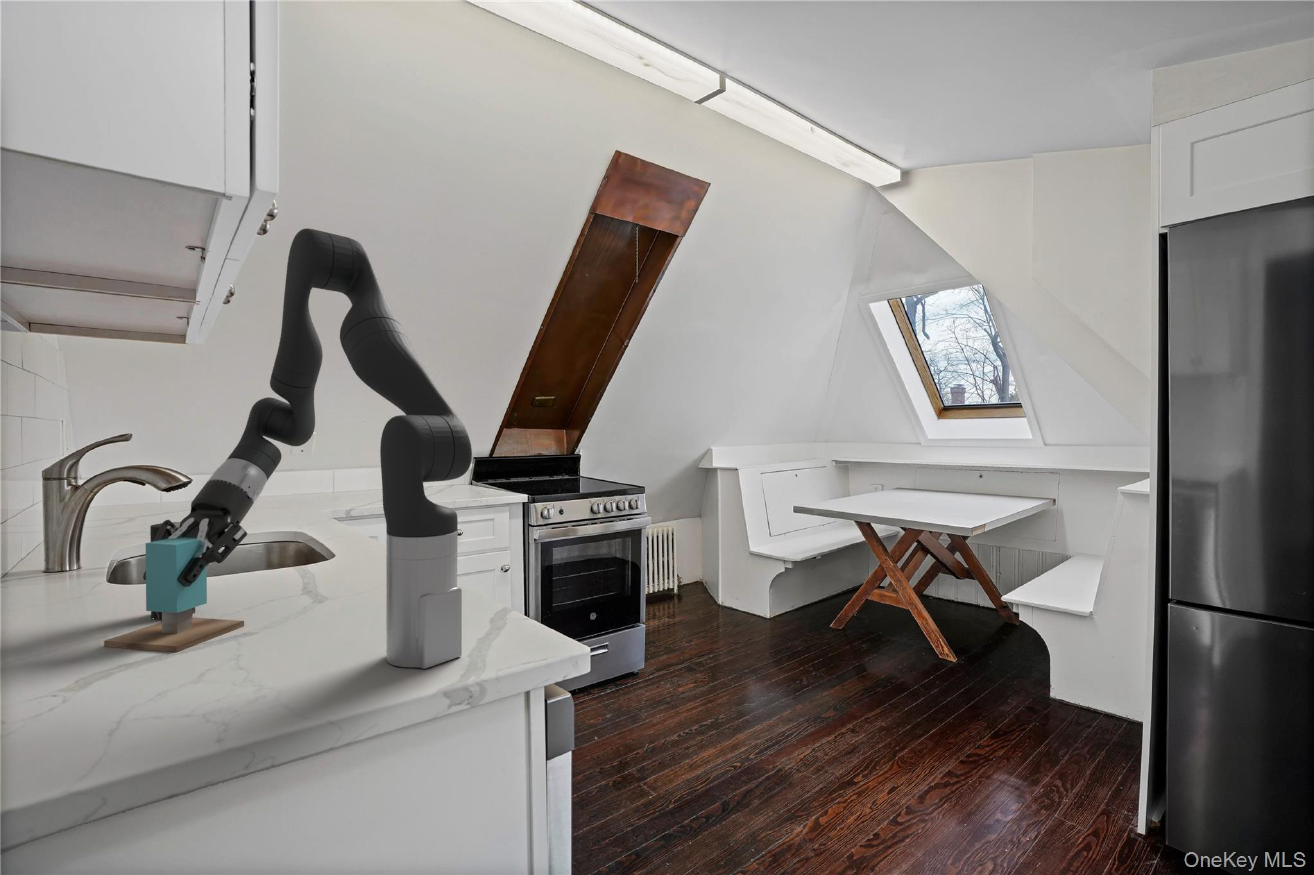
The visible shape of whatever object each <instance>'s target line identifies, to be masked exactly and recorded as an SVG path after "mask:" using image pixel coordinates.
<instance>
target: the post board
mask: <svg viewBox="0 0 1314 875" xmlns="http://www.w3.org/2000/svg"><path fill="white" fill-rule="evenodd" d="M244 626H245V620H237V619H234V620H233V619H222V618H207V617H205V618H203V617H193V614H192V608H191V609H188V610H185V611H182V612H179V613H168V612H162V620H161V622H157V623H154V624H151V625H148V626H145V627H142V628H139V629H136V630H133V631H130V632H127V633H122V634H120V635H118V636H115V637H111V638H108V639H106V640H103V647H105V648H106V647H107V648H108V647H109V648H121V649H132V650H147V651H148V650H149V651H159V652H175V653H177V652H180V651H183V650H186V649H188V648H190V647H193V646H196V645H199V644H201V643H204V642H206V641H208V640H209V641H210V640H211V639H214V638H216V637H219V636H222V635H224V634H228V633H230V632H231V631H234V630H238V629H241V628H242V627H244Z"/></svg>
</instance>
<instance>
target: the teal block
mask: <svg viewBox="0 0 1314 875" xmlns="http://www.w3.org/2000/svg"><path fill="white" fill-rule="evenodd" d="M199 542H200V540H198V539H197V538H185V537H181V538H169V539H164V540H159V541H154V542H150V541H149V542H145V571H146V581H145V608H146V609H145V610H146V612H151V611H154V612H168V613H179V612H182V611H185V610H188V609H191V608H194V607H195V608H197V607H199V606H204V605H206V604H208V581H207V580H208V579H207V578H208V575H207V568H208V566H206V567H205V568H204V569H203V571H202V572H201V574H200V575H199V577H198V578H197V580H196V581H195V582H194V583H192V585H191V586H189V587H185V586H183V585H182V584H180V583H179V582H178V581H177V578H178V576H179V575H180V574H181V572H182V571H183V569H184V568H185V567H186V565H187V564H188V562H189V561H190V560H191V558H195V557H194V554H195V552H196V550H197V549H198V547H199V546H200V544H199ZM206 551H207V550H206ZM206 551H205V552H206Z"/></svg>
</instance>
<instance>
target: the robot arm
mask: <svg viewBox="0 0 1314 875" xmlns="http://www.w3.org/2000/svg"><path fill="white" fill-rule="evenodd" d="M289 248H290V249H289V252H288V257H287V258H288V259H287V264H286V277H285V284H284V286H285V287H284V294H283V304H282V305H283V307H282V319H281V331H280V338H279V344H278V349H277V352H276V355H275V359H274V364H273V367H272V371H271V374H270V379H269V387H270V389H271V390H272V391H273V392H274V393H275V394H276V395H277V396H279V397H281V398H282V399H283V400H285V401H286V402H285V401H283V400H280V399H278V398H276V397H264V398H262V399H261V398H260V399H259V400H257V401H256V402H255V403H253V405H252V407H251V409H250V411H249V413H248V418H247V421H246V425H245V428H244V431H243V433H242V434H241V438H240V440H239V441H238V443H237V444H236V446H235V447H234V449H233V450H232V452H231V453H230V454H229V456H228V457H227V458H226V459H225V461H224V462H223V463H222V464H220V466H218V467H217V469H216V470H214V472H213V474H211V475H210V478H208V479H207V481H206V483H205V484H204V485H203V486H202V488H201V489H200V490H199V492H198V493H197V495H196V496H195V497H194V498H193V500H192V501H191V504H190V512H189V513H188V515H186V516H185V517H184V518H182V520H181V521H175V522H176V523H172V521H171V520H170V519H165V520H164V521H163V522H162V525H161V527H160V528H159V530H158V532H157V534H156V536H155V538H154V540H153V541H152V542H154V541H159V540H164V539H169V538H181V537H185V538H197V539H198V540H200V542H199V544H200V546H199V547H198V549H197V550H196V552H195V554H194V557H195V558H191V560H190V561H189V562H188V564H187V565H186V567H185V568H184V569H183V571H182V572H181V574H180V575H179V576H178V578H177V581H178V582H179V583H180V584H182V585H183V586H185V587H189V586H191V585H192V583H194V582H195V581H196V580H197V578H198V577H199V575H200V574H201V572H202V571H203V569H204V568H205V567H206V566H207V567H208V566H210V565H211V564H212V563H217V564H222V563H223V562H224V561H225V560H226V559H227V558H228V557H229V556H230V554H232V552H234V550H235V549H236V548H237V547H238V545H240V544H241V543H242V542H243V540H244V539H245V538H246V537H247V535H248V532H247V531H246V529H245V528H244V527H243V526H242V525H240V524H241V523H242V521H243V520H244V519H245V517H246V516H247V514H248V512H249V511H250V510H251V508H253V507H252V506H254V504H255V503H256V501H257V500H258V498H259V496H261V493H262V491H263V490H264V488H265V485H266V484H267V482H268V481H269V479H270V478H271V477H272V475H273V474H274V472H275V470H276V469H277V467H278V466H279V464H280V463H281V460H282V452H281V450H280V449H279V447H278V446H277V445H276V444H274V443H273V442H272V441H270V440H268V439H271V440H273V441H277V442H280V443H281V444H285V445H287V446H291V447H300V446H301V447H302V446H303V445H305V444H306V443H308V442H309V440H311V438H312V436H313V435H314V432H315V428H316V412H315V390H316V389H315V388H316V386H317V381H318V379H319V375H320V371H321V367H322V363H323V357H324V356H323V347H322V342H321V340H320V337H319V335H318V332H317V330H316V328H315V325H314V323H313V319H312V317H311V313H310V308H309V306H310V305H309V301H310V295H311V292H312V289H319V290H323V291H324V290H325V291H330V292H337V293H340V294H344V295H345V296H346V297H347V298H348V300H349V301H350V304H351V306H350V309H348V312H347V313H346V315H345V316H344V318H343V320H342V323H341V326H340V329H339V340H340V345H341V348H342V350H343V352H344V355H345V356H346V358H347V360H348V363H349V365H350V366H351V368H352V370H353V372H354V373H355V375H356V376H357V377H358V379H359V380H360V381H361V382H363V384H365V385H366V386H367V387H369V388H370V389H371V390H373V391H374V392H375V393H377V394H378V395H380V397H382V398H384V399H385V400H387V401H388V402H390V403H391V404H393V405H394V406H395V407H396V408H398V409H399V410H401V412H402V413H404V414H402V415H395V416H393V417H391V418H389V420H388V421H387V422H386V424H385V425H384V427H383V430H382V432H381V437H380V450H379V452H380V453H379V454H380V472H381V473H380V474H381V487H382V489H381V490H382V509H383V515H384V518H385V523H386V525H385V526H386V528H385V530H386V539H385V540H386V543H385V544H386V559H385V560H386V563H385V564H386V567H385V568H386V569H385V570H386V574H385V575H386V577H385V578H386V579H385V580H386V581H385V582H386V583H385V585H386V587H385V589H386V590H385V592H386V595H385V596H386V598H385V599H386V603H385V604H386V609H385V610H386V621H385V623H386V626H385V627H386V630H385V631H386V661H387V663H388V664H390V665H392V666H396V667H400V668H401V667H403V668H420V669H423V670H424V669H429V668H430V667H434V666H437V665H440V664H442V663H445V662H448V661H450V660H453V659H456V658H458V657H462V655H463V653H462V650H463V649H462V647H463V646H462V641H463V636H462V635H463V634H462V632H463V631H462V630H463V629H462V628H463V627H462V626H463V623H462V621H463V620H462V618H463V614H462V612H463V610H462V608H463V590H462V588H461V587H459V586H458V533H459V532H458V530H459V529H458V528H459V527H458V524H459V523H458V522H459V520H458V519H459V518H458V513H457V512H456V510H454V509H453V508H451V507H447V506H444V505H440V504H437V503H434V502H433V501H431V500H430V499H428V497H427V496H426V493H425V487H424V483H435V482H445V481H446V482H447V481H451V480H455V479H459V478H461V477H463V476H464V475H465V474H466V473H467V472H469V468H470V466H471V465H472V459H473V451H472V450H473V449H472V444H471V440H470V436H469V434H468V432H467V429H466V427H465V425H464V423H463V422H462V420H461V419H460V418H459V416H458V414H457V413H456V412H455V410H454V409H453V408H452V406H451V405H450V404H449V402H448V400H447V399H446V398H445V396H443V394H442V393H441V392H440V390H439V388H438V387H437V386H436V384H435V383H434V381H433V380H432V377H431V376H430V375H429V373H428V371H427V370H426V367H425V366H424V364H423V363H422V361H421V360H420V358H419V356H418V354H417V353H416V350H415V348H414V346H413V344H412V342H411V340H410V338H409V336H408V335H407V333H406V331H405V329H404V327H403V326H402V324H401V323H400V321H399V319H398V318H397V316H396V314H395V313H394V311H393V309H392V307H391V305H390V303H389V301H388V299H387V297H386V296H385V293H384V292H383V289H382V286H381V284H380V281H379V278H378V276H377V274H376V271H375V268H374V265H373V263H372V261H371V259H370V256H369V253H368V252H367V250H366V249H365V247H364V245H362V243H361V242H359V241H358V240H356V239H354V238H350V237H348V236H343V235H339V234H336V233H335V234H334V233H332V232H331V233H330V232H327V231H323V230H319V229H314V228H309V227H308V228H302V229H301V230H299V231H298V232H297V233H296V234H295V235H294V237H293V239H292V242H291V245H290V247H289ZM223 546H224V548H223ZM222 548H223V549H222ZM221 549H222V551H220V550H221ZM206 550H207V551H206ZM205 551H206V552H205ZM142 577H143V578H142V579H143V580H144V581H145V582H146V570H145V571H144V572H143V576H142Z"/></svg>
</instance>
